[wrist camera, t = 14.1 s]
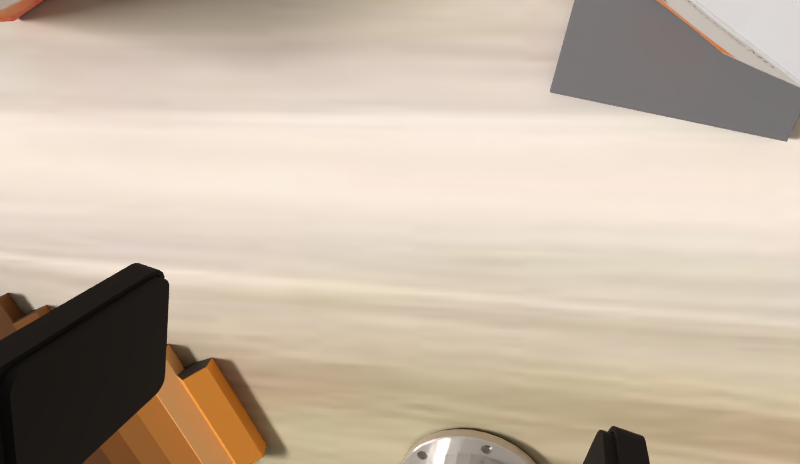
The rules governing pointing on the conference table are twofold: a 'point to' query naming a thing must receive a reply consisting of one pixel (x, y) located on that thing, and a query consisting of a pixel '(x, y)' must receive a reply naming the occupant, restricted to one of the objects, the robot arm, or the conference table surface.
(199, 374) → the pan flute
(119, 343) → the robot arm
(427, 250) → the conference table surface
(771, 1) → the skincare box
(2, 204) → the conference table surface
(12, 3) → the cracker box
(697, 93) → the mat
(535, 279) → the conference table surface
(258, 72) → the conference table surface
